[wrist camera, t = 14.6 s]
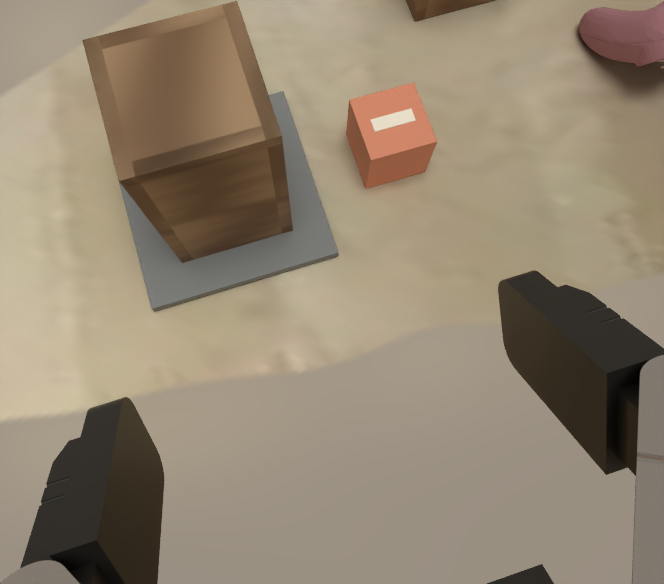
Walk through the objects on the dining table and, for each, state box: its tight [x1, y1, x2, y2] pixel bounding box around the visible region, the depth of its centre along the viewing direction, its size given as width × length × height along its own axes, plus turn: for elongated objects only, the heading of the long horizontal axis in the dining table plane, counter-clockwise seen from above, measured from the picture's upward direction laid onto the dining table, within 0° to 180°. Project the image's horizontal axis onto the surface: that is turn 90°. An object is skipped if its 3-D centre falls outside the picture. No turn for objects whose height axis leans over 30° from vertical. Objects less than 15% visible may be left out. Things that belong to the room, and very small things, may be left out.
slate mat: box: [119, 91, 338, 311], centre depth 31 cm, size 10×10×1 cm
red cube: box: [346, 83, 437, 188], centre depth 31 cm, size 4×4×4 cm
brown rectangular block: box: [83, 1, 293, 263], centre depth 26 cm, size 6×6×10 cm
